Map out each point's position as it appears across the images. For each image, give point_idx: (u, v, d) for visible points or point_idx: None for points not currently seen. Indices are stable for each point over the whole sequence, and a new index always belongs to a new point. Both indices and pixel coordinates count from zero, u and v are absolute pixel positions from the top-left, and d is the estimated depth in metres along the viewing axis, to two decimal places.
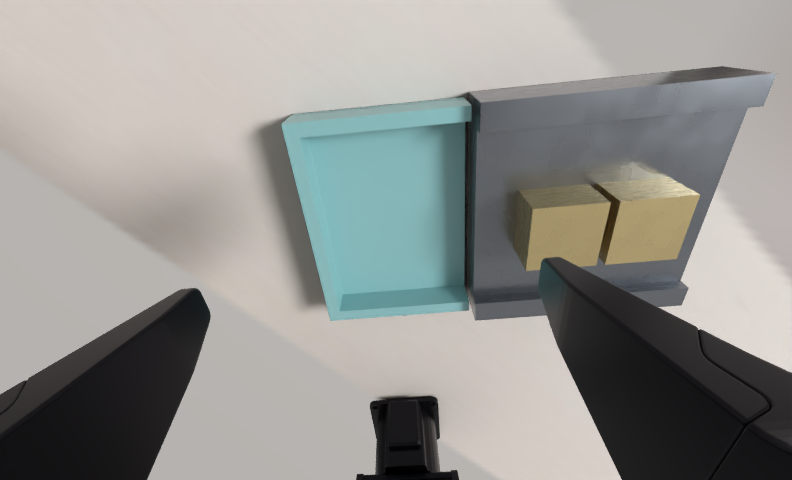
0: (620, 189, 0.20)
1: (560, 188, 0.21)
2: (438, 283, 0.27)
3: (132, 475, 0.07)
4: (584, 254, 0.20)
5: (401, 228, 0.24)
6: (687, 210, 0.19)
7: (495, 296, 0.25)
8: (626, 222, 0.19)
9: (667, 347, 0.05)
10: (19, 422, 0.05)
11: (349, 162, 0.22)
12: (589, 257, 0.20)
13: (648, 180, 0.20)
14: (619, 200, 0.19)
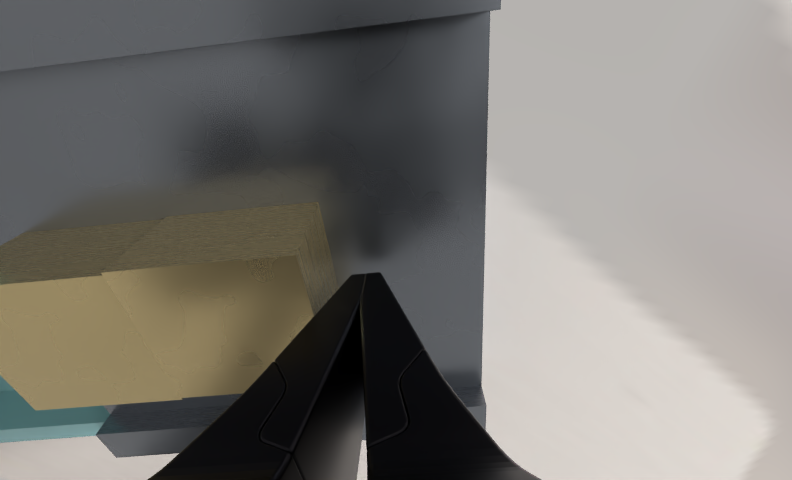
0: (172, 234, 0.08)
1: (100, 228, 0.09)
2: None
3: (353, 461, 0.07)
4: (138, 380, 0.09)
5: None
6: (289, 292, 0.08)
7: (143, 416, 0.13)
8: (156, 318, 0.08)
9: (376, 369, 0.06)
10: (311, 401, 0.05)
11: None
12: (153, 386, 0.09)
13: (269, 209, 0.09)
14: None
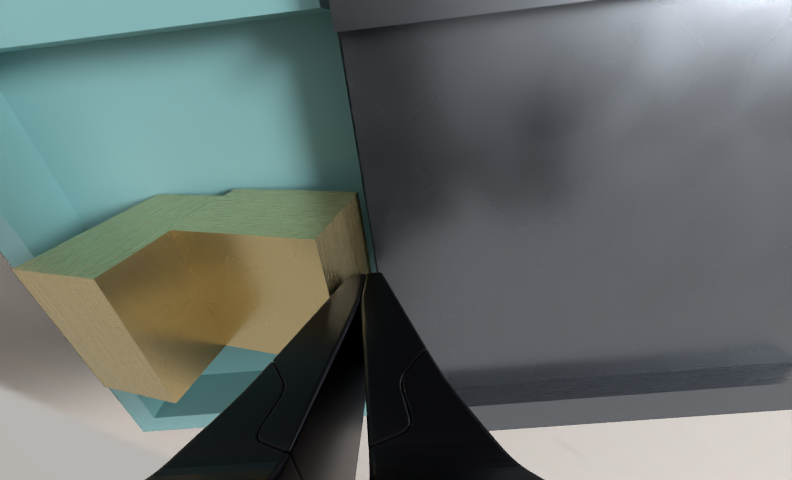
0: (231, 205, 0.10)
1: (153, 235, 0.09)
2: None
3: (352, 461, 0.07)
4: None
5: None
6: (309, 272, 0.08)
7: None
8: (208, 274, 0.09)
9: (378, 368, 0.06)
10: (309, 402, 0.05)
11: (104, 134, 0.10)
12: None
13: (313, 193, 0.10)
14: (173, 227, 0.09)
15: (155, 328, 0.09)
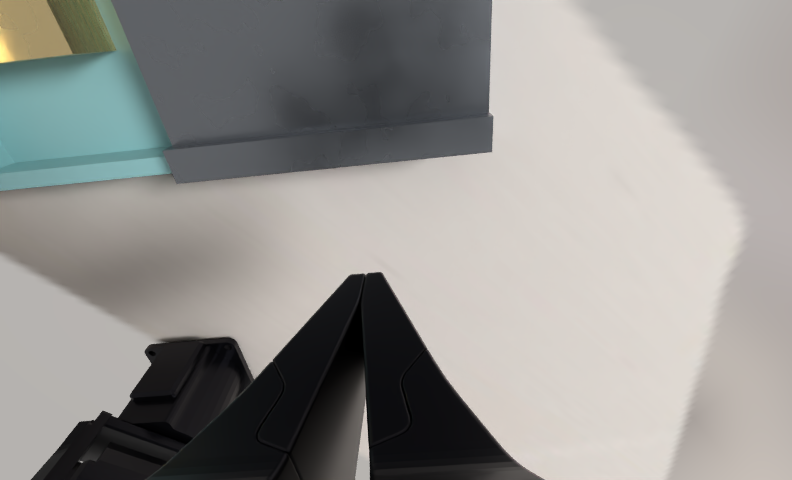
0: None
1: None
2: (150, 141, 0.18)
3: (352, 461, 0.07)
4: None
5: None
6: None
7: (201, 142, 0.16)
8: None
9: (378, 368, 0.06)
10: (309, 402, 0.05)
11: None
12: None
13: None
14: None
15: None
